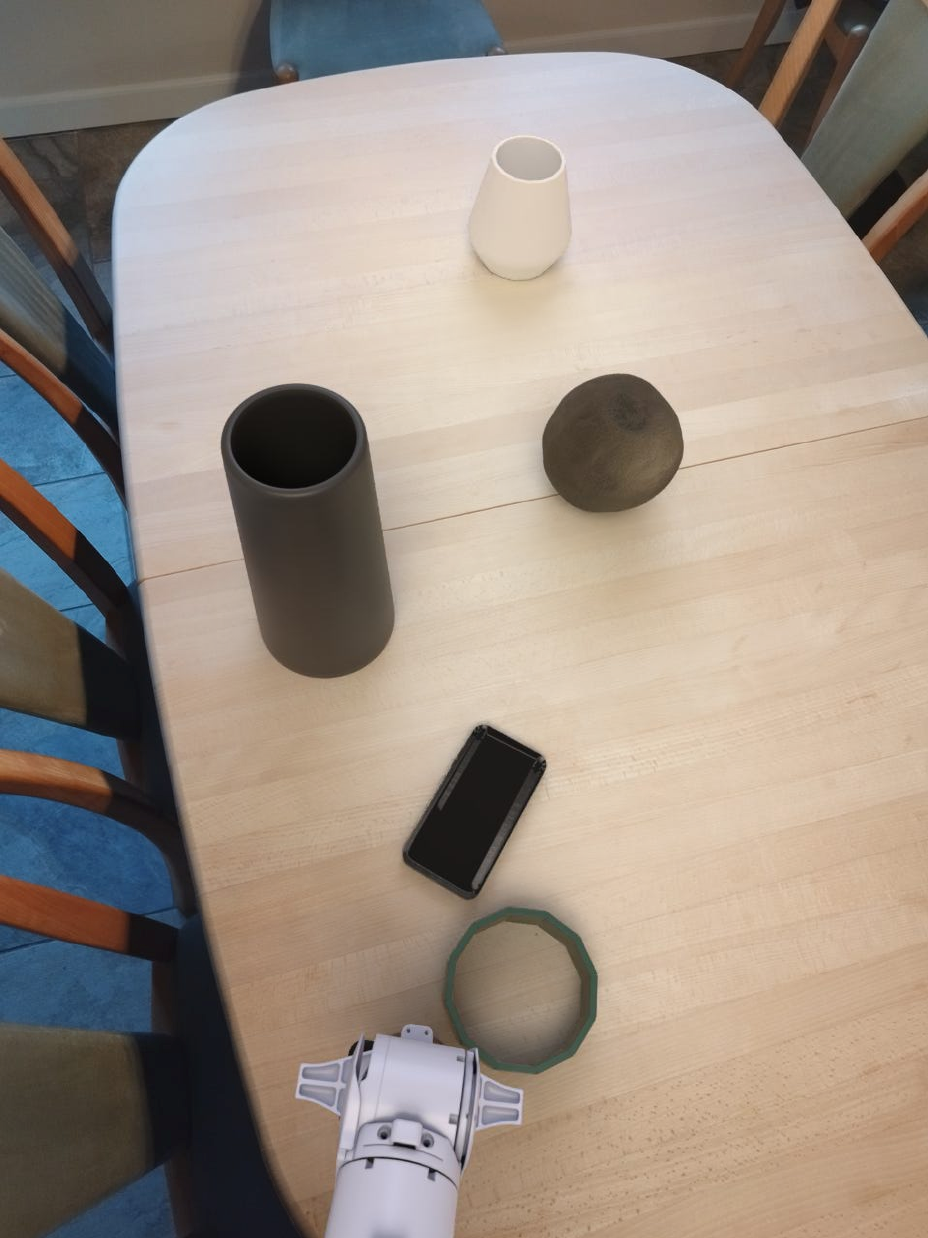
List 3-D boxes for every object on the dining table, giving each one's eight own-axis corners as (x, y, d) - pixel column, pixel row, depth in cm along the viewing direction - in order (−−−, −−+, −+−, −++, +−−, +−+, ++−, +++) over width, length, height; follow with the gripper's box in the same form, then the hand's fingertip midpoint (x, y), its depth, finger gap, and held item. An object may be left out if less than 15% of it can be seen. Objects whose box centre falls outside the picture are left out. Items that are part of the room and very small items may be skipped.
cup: (490, 208, 118) (499, 108, 106) (581, 241, 116) (602, 143, 104) (448, 269, 112) (453, 171, 100) (543, 305, 110) (560, 210, 98)
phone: (550, 759, 82) (473, 903, 75) (549, 763, 83) (472, 905, 76) (478, 719, 83) (396, 856, 77) (477, 723, 84) (396, 859, 78)
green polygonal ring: (584, 1080, 71) (594, 1082, 67) (436, 1063, 71) (437, 1063, 67) (589, 924, 76) (599, 917, 72) (452, 908, 76) (455, 900, 72)
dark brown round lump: (548, 548, 94) (571, 464, 80) (523, 444, 100) (541, 350, 87) (672, 535, 95) (715, 450, 82) (641, 434, 102) (676, 340, 88)
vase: (416, 646, 88) (419, 475, 62) (289, 700, 84) (235, 543, 58) (362, 542, 93) (344, 344, 67) (240, 588, 90) (172, 398, 64)
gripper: (535, 1036, 53) (512, 1040, 65) (301, 1008, 53) (321, 1018, 65) (527, 1171, 50) (504, 1149, 62) (278, 1141, 50) (304, 1125, 62)
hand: (410, 1089), depth 64 cm, fingers closed on salt shaker, 3 cm apart
